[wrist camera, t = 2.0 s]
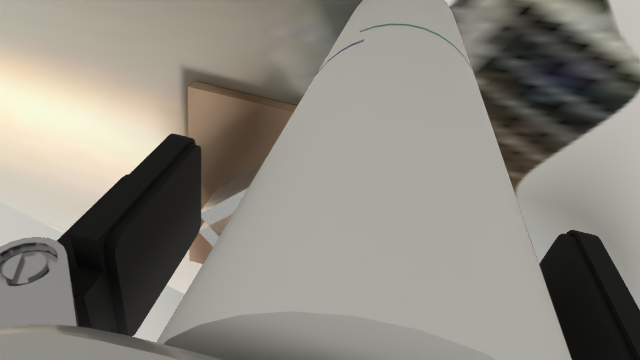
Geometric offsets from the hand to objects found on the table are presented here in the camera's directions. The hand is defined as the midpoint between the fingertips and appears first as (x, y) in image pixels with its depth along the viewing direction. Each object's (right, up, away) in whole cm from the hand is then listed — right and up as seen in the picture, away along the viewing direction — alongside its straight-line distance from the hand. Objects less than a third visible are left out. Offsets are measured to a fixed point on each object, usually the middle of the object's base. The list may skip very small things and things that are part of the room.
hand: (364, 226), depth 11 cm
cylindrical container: (+4, +10, +16) cm, 20 cm away
